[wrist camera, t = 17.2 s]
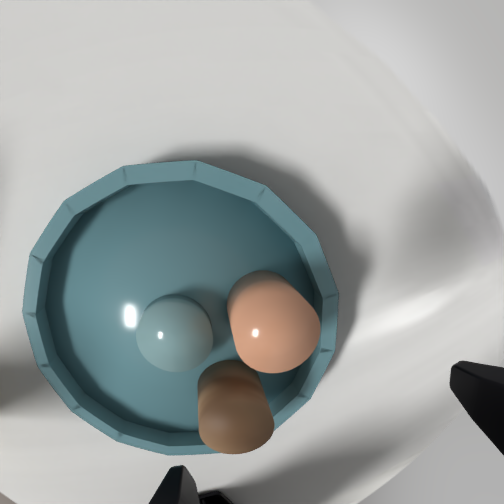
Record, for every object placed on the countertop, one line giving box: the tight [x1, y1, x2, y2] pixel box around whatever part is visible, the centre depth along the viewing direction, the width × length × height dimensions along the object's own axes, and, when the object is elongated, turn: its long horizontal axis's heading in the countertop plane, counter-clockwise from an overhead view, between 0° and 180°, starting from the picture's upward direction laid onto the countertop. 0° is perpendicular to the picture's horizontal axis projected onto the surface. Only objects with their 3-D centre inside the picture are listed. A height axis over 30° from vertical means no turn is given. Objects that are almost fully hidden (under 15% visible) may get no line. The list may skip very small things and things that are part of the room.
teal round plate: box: [22, 160, 339, 455], centre depth 19 cm, size 19×19×2 cm
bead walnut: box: [197, 360, 275, 454], centre depth 18 cm, size 4×4×4 cm
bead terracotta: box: [226, 270, 320, 373], centre depth 17 cm, size 4×4×4 cm
